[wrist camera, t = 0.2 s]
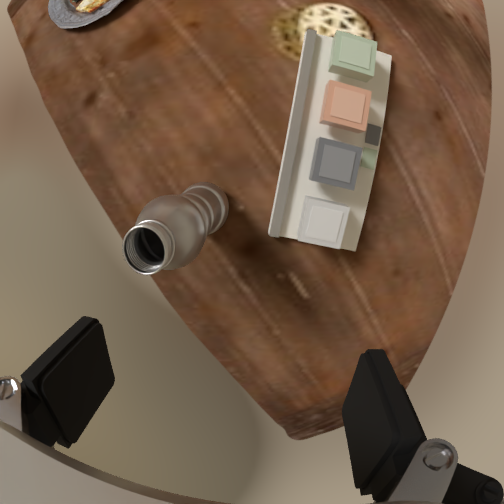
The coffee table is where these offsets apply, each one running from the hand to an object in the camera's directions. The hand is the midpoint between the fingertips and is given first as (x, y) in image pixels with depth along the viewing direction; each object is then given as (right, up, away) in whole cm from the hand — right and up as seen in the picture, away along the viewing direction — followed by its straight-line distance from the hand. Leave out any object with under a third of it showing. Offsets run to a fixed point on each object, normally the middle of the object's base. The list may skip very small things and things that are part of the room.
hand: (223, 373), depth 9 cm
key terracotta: (+12, +21, +21) cm, 32 cm away
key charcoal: (+11, +15, +24) cm, 30 cm away
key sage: (+13, +28, +19) cm, 36 cm away
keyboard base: (+11, +19, +25) cm, 33 cm away
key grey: (+9, +8, +26) cm, 29 cm away
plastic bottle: (-5, +10, +29) cm, 31 cm away
